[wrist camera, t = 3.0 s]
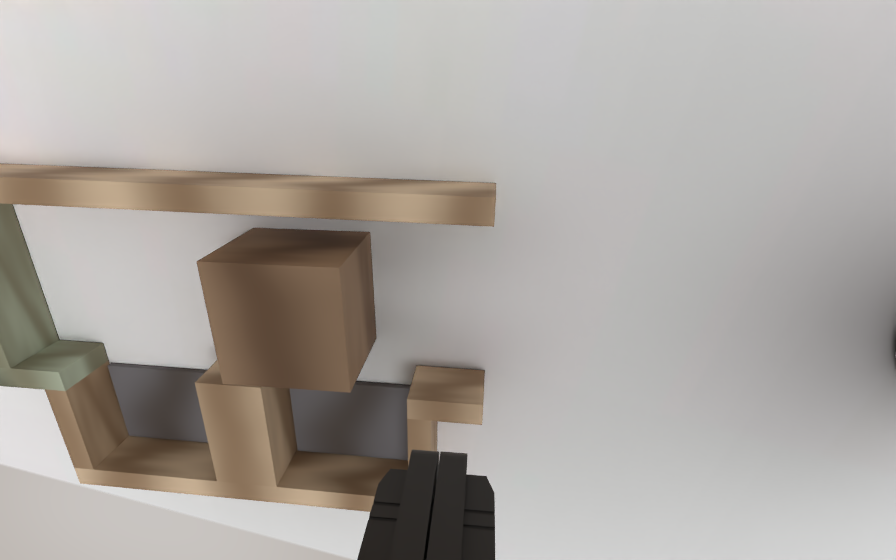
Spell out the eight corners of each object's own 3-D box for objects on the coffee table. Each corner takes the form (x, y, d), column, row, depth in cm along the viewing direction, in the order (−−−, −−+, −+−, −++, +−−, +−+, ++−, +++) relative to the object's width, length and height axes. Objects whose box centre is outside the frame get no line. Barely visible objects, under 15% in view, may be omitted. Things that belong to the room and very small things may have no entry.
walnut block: (370, 231, 23) (339, 267, 19) (376, 337, 26) (350, 392, 21) (254, 227, 24) (196, 261, 19) (271, 331, 26) (222, 383, 22)
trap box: (495, 183, 22) (495, 197, 19) (478, 479, 29) (476, 522, 26) (-24, 162, 24) (-93, 173, 21) (78, 443, 31) (37, 479, 28)
